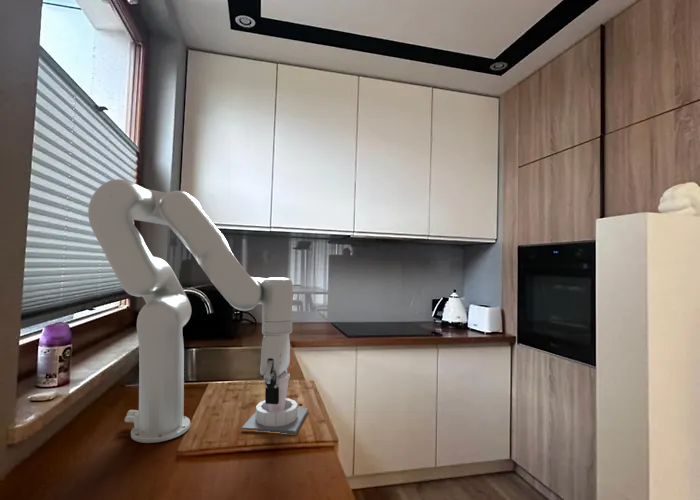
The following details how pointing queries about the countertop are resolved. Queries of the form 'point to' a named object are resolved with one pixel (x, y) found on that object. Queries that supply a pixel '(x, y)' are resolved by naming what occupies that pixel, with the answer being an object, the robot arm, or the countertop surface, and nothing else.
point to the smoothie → (280, 392)
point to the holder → (277, 418)
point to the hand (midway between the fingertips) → (276, 397)
